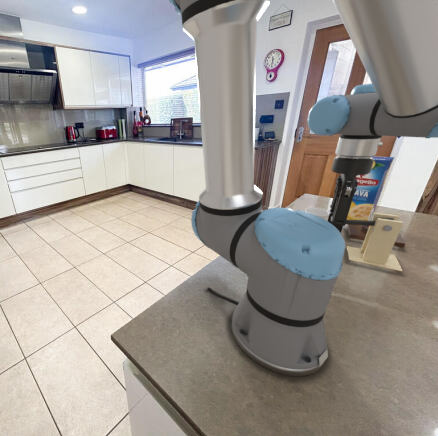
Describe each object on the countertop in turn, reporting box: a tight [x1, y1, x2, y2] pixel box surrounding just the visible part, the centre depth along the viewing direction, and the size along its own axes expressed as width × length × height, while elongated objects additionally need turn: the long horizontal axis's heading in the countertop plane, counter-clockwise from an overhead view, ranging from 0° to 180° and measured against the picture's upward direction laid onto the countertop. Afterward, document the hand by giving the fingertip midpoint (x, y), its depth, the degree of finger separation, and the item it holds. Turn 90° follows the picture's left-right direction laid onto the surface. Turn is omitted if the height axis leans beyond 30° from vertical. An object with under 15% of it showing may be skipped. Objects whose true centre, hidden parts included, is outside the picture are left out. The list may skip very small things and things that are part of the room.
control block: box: [346, 224, 406, 248], centre depth 72 cm, size 12×9×4 cm
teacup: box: [303, 207, 331, 221], centre depth 83 cm, size 10×10×5 cm
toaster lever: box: [331, 215, 394, 226], centre depth 61 cm, size 12×6×2 cm, turn 56°
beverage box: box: [347, 155, 395, 221], centre depth 83 cm, size 7×11×22 cm, turn 37°
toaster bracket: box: [346, 211, 404, 272], centre depth 60 cm, size 10×8×13 cm
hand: (330, 239), depth 66 cm, fingers closed on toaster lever, 6 cm apart
